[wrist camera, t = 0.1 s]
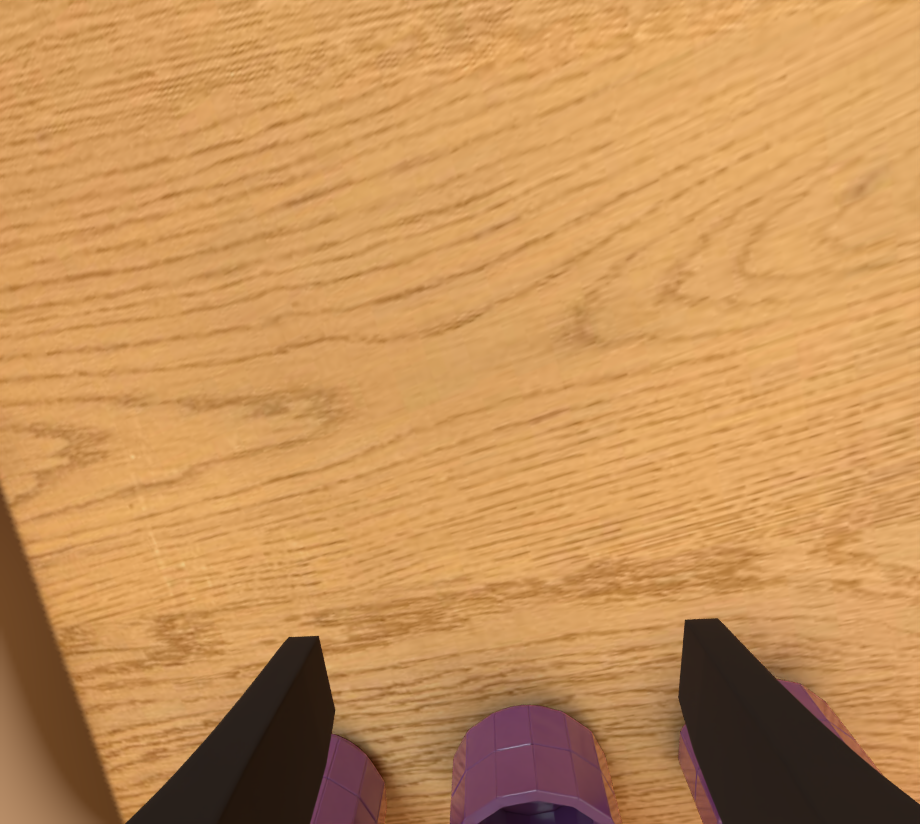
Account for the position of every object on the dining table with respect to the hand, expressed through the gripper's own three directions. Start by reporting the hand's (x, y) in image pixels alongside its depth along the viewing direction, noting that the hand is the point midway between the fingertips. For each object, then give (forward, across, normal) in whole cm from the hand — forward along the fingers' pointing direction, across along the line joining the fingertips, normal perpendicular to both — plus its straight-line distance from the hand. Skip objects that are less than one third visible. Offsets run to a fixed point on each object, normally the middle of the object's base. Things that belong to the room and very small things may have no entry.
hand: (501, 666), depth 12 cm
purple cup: (+6, -1, +11) cm, 13 cm away
